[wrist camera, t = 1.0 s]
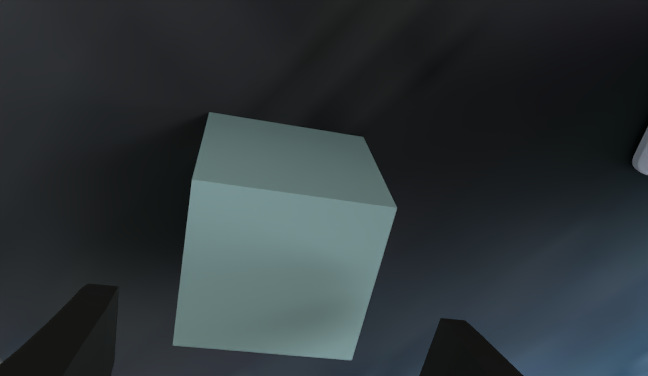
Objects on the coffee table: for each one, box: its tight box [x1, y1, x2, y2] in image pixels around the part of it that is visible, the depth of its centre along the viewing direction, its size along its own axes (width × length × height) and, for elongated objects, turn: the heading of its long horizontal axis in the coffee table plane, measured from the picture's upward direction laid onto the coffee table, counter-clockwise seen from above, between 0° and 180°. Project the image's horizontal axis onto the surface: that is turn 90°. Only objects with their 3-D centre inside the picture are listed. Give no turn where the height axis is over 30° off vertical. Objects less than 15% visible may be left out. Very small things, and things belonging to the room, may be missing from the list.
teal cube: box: [173, 112, 397, 360], centre depth 16 cm, size 5×5×5 cm
